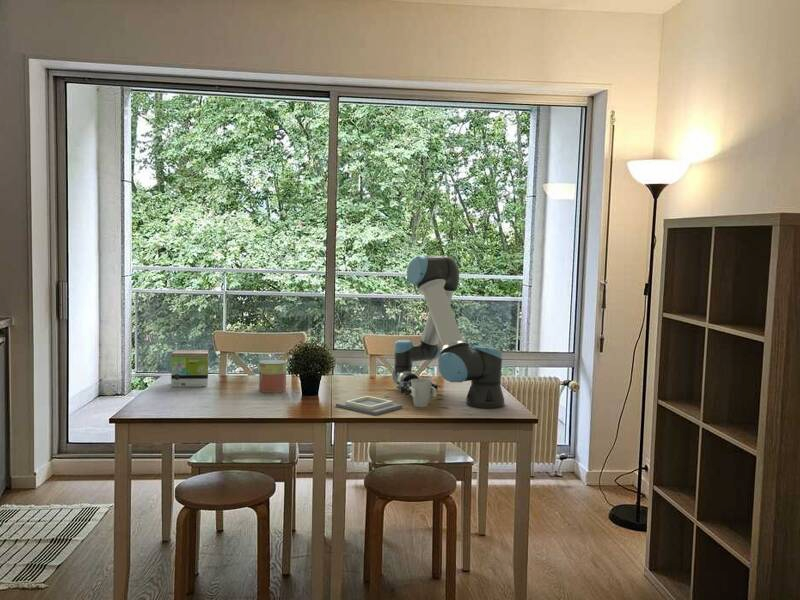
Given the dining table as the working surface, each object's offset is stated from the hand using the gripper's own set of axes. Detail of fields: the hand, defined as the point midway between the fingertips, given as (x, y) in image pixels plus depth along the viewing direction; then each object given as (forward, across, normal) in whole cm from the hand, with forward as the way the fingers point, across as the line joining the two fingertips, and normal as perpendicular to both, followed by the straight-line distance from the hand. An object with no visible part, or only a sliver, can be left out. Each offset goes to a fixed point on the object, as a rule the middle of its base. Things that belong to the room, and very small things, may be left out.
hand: (425, 393), depth 285 cm
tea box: (-58, +88, -6) cm, 105 cm away
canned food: (-43, +54, -6) cm, 69 cm away
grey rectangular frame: (-6, +21, -6) cm, 22 cm away
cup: (-5, 0, -6) cm, 8 cm away
